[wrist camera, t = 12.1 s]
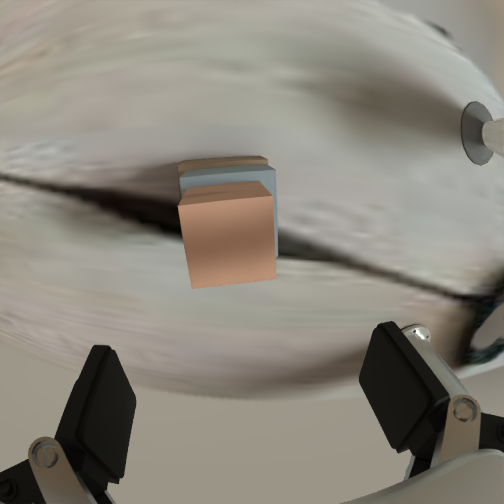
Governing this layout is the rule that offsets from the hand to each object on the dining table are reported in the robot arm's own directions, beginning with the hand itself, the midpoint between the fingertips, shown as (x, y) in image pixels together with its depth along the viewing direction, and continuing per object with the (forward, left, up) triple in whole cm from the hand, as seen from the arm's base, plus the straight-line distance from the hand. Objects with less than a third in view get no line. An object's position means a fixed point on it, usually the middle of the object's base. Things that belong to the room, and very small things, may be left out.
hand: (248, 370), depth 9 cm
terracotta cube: (0, 0, -17) cm, 17 cm away
